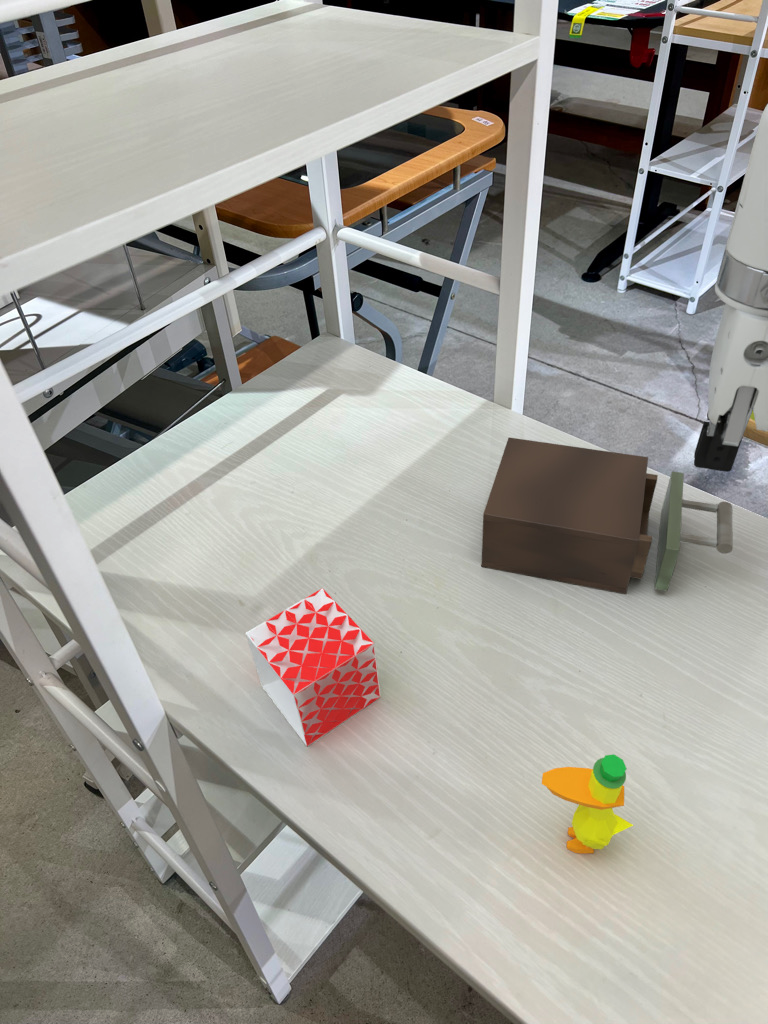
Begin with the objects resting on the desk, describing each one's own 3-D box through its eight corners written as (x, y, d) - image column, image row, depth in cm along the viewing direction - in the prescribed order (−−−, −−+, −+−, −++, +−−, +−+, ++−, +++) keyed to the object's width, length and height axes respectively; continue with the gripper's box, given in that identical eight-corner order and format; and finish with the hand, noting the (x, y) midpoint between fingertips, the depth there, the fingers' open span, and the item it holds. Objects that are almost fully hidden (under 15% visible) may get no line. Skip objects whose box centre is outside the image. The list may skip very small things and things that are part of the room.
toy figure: (531, 854, 56) (544, 776, 48) (535, 809, 59) (548, 728, 50) (624, 874, 55) (654, 797, 47) (624, 827, 57) (653, 746, 49)
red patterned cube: (380, 697, 67) (374, 643, 62) (307, 747, 64) (293, 695, 58) (331, 641, 72) (321, 587, 66) (261, 685, 69) (244, 632, 63)
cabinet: (636, 510, 82) (648, 456, 77) (625, 594, 74) (639, 540, 69) (505, 489, 86) (508, 437, 81) (481, 566, 78) (483, 513, 73)
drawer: (721, 521, 79) (735, 480, 75) (721, 601, 71) (736, 560, 67) (546, 493, 84) (551, 453, 80) (528, 565, 76) (532, 524, 72)
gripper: (838, 331, 50) (758, 527, 62) (819, 237, 60) (753, 422, 72) (718, 319, 52) (664, 511, 64) (719, 230, 62) (672, 411, 74)
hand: (711, 463), depth 68 cm, fingers closed
